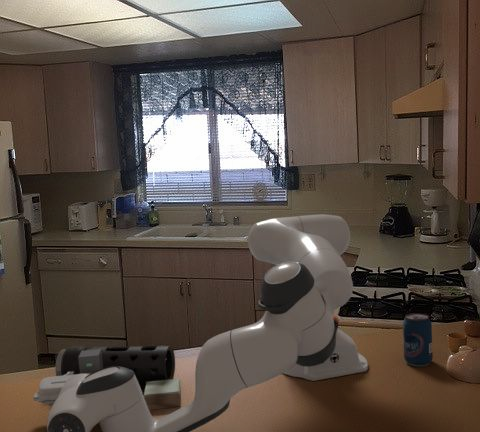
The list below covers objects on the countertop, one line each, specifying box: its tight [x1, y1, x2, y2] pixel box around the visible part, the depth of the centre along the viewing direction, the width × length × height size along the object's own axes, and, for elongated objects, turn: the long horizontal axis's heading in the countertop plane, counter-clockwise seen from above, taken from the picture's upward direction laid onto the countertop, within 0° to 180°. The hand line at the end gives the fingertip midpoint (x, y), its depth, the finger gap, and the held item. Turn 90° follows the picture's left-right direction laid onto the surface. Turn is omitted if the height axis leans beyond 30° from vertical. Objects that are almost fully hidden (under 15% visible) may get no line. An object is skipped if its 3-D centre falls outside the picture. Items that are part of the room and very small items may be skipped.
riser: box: [143, 378, 182, 411], centre depth 133 cm, size 8×8×4 cm
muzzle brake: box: [54, 345, 176, 387], centre depth 144 cm, size 10×28×10 cm, turn 82°
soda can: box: [402, 312, 434, 367], centre depth 146 cm, size 7×7×12 cm
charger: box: [78, 349, 103, 374], centre depth 134 cm, size 4×5×12 cm
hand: (92, 372), depth 135 cm, fingers open, 8 cm apart
